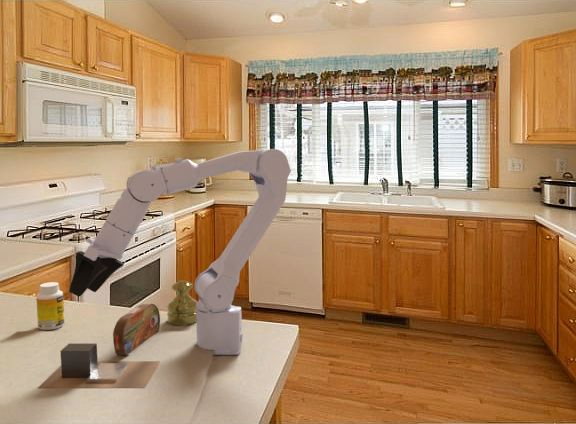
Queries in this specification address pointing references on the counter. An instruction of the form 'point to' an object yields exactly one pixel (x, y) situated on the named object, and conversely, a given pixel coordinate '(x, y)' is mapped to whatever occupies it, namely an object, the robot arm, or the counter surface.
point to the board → (131, 378)
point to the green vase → (182, 305)
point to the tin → (135, 328)
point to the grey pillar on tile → (88, 364)
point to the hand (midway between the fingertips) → (82, 291)
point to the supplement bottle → (50, 306)
